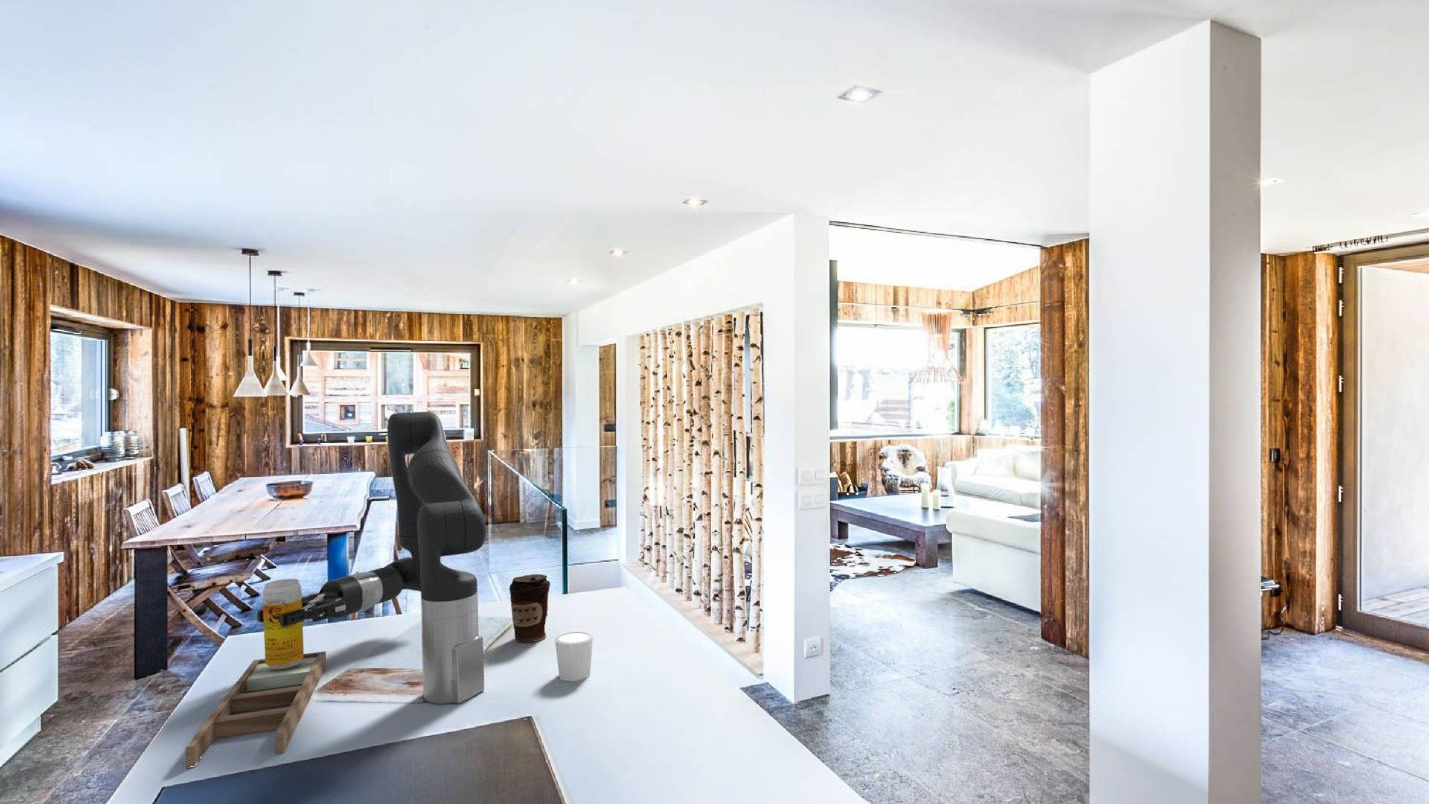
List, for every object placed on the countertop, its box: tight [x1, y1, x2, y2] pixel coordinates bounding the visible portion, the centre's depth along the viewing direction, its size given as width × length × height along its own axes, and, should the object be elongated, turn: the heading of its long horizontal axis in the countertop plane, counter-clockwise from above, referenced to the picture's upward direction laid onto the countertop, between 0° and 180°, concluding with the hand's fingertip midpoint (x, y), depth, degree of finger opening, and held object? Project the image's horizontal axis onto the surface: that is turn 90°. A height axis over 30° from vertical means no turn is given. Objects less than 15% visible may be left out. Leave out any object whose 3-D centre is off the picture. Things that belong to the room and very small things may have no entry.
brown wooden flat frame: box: [185, 650, 327, 767], centre depth 120 cm, size 36×12×3 cm, turn 20°
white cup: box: [554, 631, 594, 682], centre depth 132 cm, size 7×7×7 cm
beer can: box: [262, 578, 305, 669], centre depth 132 cm, size 6×6×15 cm
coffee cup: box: [509, 573, 551, 643], centre depth 153 cm, size 9×8×13 cm
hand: (270, 618), depth 130 cm, fingers closed on beer can, 6 cm apart
